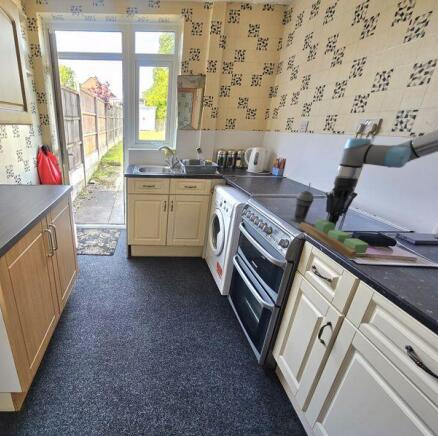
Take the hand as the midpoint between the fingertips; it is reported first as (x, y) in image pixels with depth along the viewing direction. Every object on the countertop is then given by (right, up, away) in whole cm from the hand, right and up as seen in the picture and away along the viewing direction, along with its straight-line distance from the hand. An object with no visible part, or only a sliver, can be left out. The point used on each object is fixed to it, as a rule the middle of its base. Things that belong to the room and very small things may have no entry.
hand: (330, 227), depth 112 cm
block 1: (-3, -2, 0) cm, 4 cm away
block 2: (-5, -9, -18) cm, 20 cm away
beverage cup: (-6, +3, +13) cm, 15 cm away
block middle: (-5, -6, -10) cm, 13 cm away
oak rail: (-9, -5, -9) cm, 14 cm away
